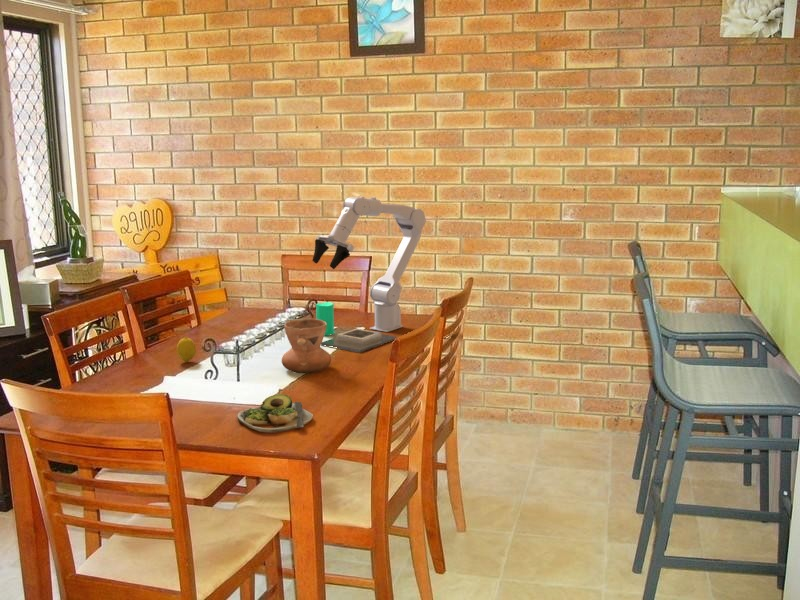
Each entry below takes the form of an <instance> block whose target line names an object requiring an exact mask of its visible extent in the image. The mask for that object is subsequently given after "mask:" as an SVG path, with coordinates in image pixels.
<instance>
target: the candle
mask: <svg viewBox="0 0 800 600" xmlns="http://www.w3.org/2000/svg"><path fill="white" fill-rule="evenodd" d="M315 306H316V307H315V309H316V311H315V312H316V314H315V317H316V318H315V319H319V320H322V321H325V322H326V323H327V326H326V331H325V334H324V335H329V336H331V335H330V334H333V333H334V334H335V319H334V318H335V316H334V314H335V312H334V311H335V310H334V306H335V305H334V303H333V302H330V301H329V302H327V301H326V299H324V302H318V303H316V304H315ZM334 334H333V335H334Z"/></svg>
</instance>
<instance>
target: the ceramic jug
mask: <svg viewBox="0 0 800 600" xmlns="http://www.w3.org/2000/svg"><path fill="white" fill-rule="evenodd" d="M326 326H327V323H326V322H325V321H322V320H319V319H316V318H311V317H308V318H307V317H305V318H296V319H291V320H289V321H286V322H285V323H284V326H283V327H284V331H285V334H286V337H287V340H288V341H289V344H290V347H291V348H290V349H289V350H287V351H286V352H285V353H283V355H282V358H281V364H282V366H283V367H284V368H285V369H286V370H288V371H289V372H292V373H297V374H313V373H317V372H320V371H323V370H325V369H327V368H328V367H329V366H330V365H331V363H332V356H331V354H330V353H329V352H328V351H327V350H325V349H324V348H323V347H322V346H321V343H322V342H323V339H324V338H325V336H324V334H325V331H326Z"/></svg>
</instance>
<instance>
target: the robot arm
mask: <svg viewBox="0 0 800 600" xmlns="http://www.w3.org/2000/svg"><path fill="white" fill-rule="evenodd" d="M380 214H390V215H392V218H394V220H395V223H396V224H397V226H398V227H399V229H400V232H401V233H402V235H403V237H402V240H401V241H400V244H399V245H398V248H397V249H396V252H395V253H394V256H393V258H392V260H391V262H390V264H389V266H388V268H387V270H386V272H385V274H384V275H382V276H380V277H379V278H378V279H377V280H376V282H375V283H374V284H373V285H371V288H370V290H369V296H370V298H371V300H372V301H373V304H374V326H371V327H369V330H371V331H373V330H374V331H377V332H385V333H389V332H393V331H395V330H397V329H401V328H404V327H403V325H402V319H401V318H402V314H401V312H402V309H401V306H400V305H399V303H398V302H399V300H400V296H401V291H402V289H403V288H402V287H403V286H402V285H401V283H400V281H401V278H403V277H402V276H403V275H404V272H405V270H406V268H407V266H408V264H409V262H410V260H411V258H412V256H413V254H414V253H415V250H416V248H417V246H418V244H419V242H420V240H421V236H422V230H423V228H424V226H425V224H426V222H427V219H426V216H425V212H424V210H422V209H421V208H416V207H413V206H408V205H403V204H395V203H392V204H391V203H382V202H381V201H380V200H379V199H377V197H372V196H371V197H370V198H368V197H367V198H365V196H359V197H356V196H354V197H353V196H350V197H349V196H348V198H346V199H345V200H343V202H342V210H341V211H340V215H339V217H338V218H337V221H336V222H335V224H334V226H333V228H332V230H331V231H330V233H329V234H328V235H325V234H324V235H323V234H322V235H321V234H318V235H317V237H316V239H315V240H314V244H315V245H314V252H313V253H314V254H313V256H312V262H313V263H314V264H318V263H319V262H320V260H321V258H322V257H323V255H324V254H325V253H326V251H328V250H329V249H330V248H329V246H332V247H336V249H335V252H334V255H333V257H332V259H331V261H330V264H329V267H330V268H331V269H333V270H335V269H336V268H337V267H338V266H339V265H340V264H341V263H342V262H343V261H344V260H346V259H347V258H348V257H350V256H351V253H353V250H354V249H355V246H354V245H353V244H351V243H349V242H347V240H348V239H349V237H350V235H351V233H352V231H353V229H354V228H355V226H356V224H357V222H358V220H359V219H360V216H361V217H363V216H364V217H365V216H366V217H367V216H368V217H378V216H380Z"/></svg>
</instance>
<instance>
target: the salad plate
mask: <svg viewBox="0 0 800 600" xmlns="http://www.w3.org/2000/svg"><path fill="white" fill-rule="evenodd" d="M236 417H237V418H236V419H237V421H238V422H239V423H240V424H241V425H244V426H246V428H247V427H248V428H249V429H251V430H255V431H257V432H260V433H269V434H271V433H272V434H273V433H282V432H283V433H284V432H287V431H291V430H296V429H299V428H300V429H301V428H304V426H305V425H307V423H310V422H311V420H312V419H313V417H314V414H313V413H312V412H310V411H308V410H306V409H304V408H303V403H302V402H300V401H294V402H293V400H292V398H291V397H290V396H289V395H287V394H281V393H279V394H273V395H271V396H268V397H266V398H265V399H264V400H263V401H262V404H261V405H260V406H257V407H252V408H245V409H243V410H240V411H239V412H238V414H237V415H236ZM254 425H255V426H254ZM257 425H258V426H257ZM261 425H270V426H274V427H262V426H261ZM260 426H261V427H260Z"/></svg>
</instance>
